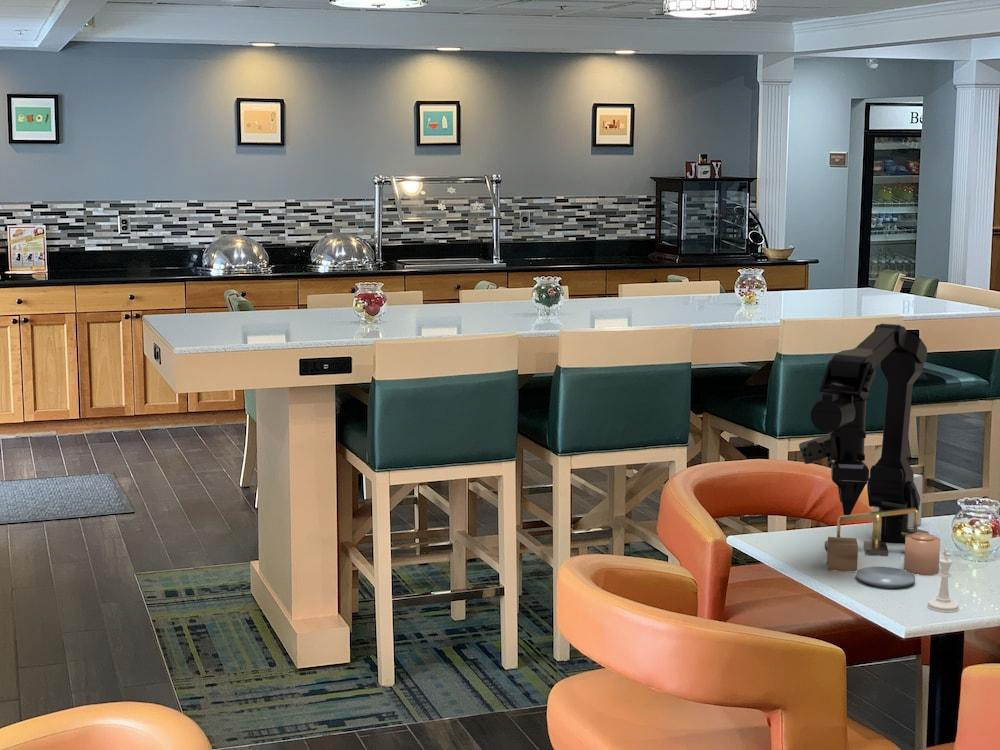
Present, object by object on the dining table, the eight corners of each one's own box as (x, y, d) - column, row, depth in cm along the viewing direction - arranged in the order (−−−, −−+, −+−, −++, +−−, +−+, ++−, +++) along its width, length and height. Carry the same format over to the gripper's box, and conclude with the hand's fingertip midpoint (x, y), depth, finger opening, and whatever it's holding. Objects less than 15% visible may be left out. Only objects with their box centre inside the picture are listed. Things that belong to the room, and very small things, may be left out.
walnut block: (826, 562, 239) (828, 536, 239) (854, 564, 238) (856, 538, 238) (828, 570, 234) (829, 544, 234) (856, 572, 233) (858, 545, 233)
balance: (823, 544, 251) (825, 499, 250) (925, 549, 248) (928, 504, 246) (825, 552, 246) (827, 507, 244) (929, 558, 242) (932, 512, 241)
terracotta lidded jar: (902, 564, 238) (903, 530, 237) (936, 566, 237) (938, 532, 236) (905, 574, 232) (907, 539, 231) (940, 576, 231) (942, 541, 230)
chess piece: (938, 613, 211) (942, 554, 210) (921, 604, 216) (924, 546, 214) (965, 611, 212) (968, 552, 211) (947, 601, 217) (950, 543, 216)
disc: (853, 570, 234) (854, 565, 234) (911, 574, 232) (911, 568, 232) (858, 587, 224) (858, 581, 224) (918, 591, 222) (918, 585, 222)
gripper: (800, 413, 243) (797, 494, 245) (804, 432, 225) (801, 519, 227) (862, 415, 241) (858, 497, 243) (871, 434, 223) (867, 522, 225)
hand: (844, 508), depth 235 cm, fingers open, 9 cm apart
